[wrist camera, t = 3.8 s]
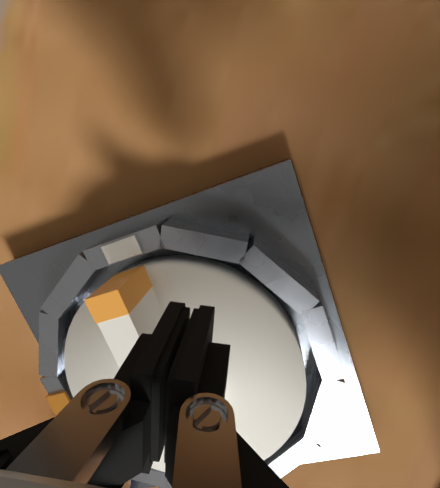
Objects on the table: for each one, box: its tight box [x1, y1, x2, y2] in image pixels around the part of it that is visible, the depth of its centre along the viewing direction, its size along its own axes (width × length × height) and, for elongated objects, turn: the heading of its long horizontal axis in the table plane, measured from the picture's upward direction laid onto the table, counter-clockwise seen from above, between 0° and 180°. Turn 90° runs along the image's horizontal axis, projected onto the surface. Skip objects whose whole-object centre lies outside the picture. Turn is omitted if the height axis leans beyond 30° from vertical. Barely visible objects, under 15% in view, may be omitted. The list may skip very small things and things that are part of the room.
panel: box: [0, 159, 380, 488], centre depth 20 cm, size 19×19×4 cm
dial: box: [64, 255, 306, 472], centre depth 18 cm, size 14×14×5 cm
